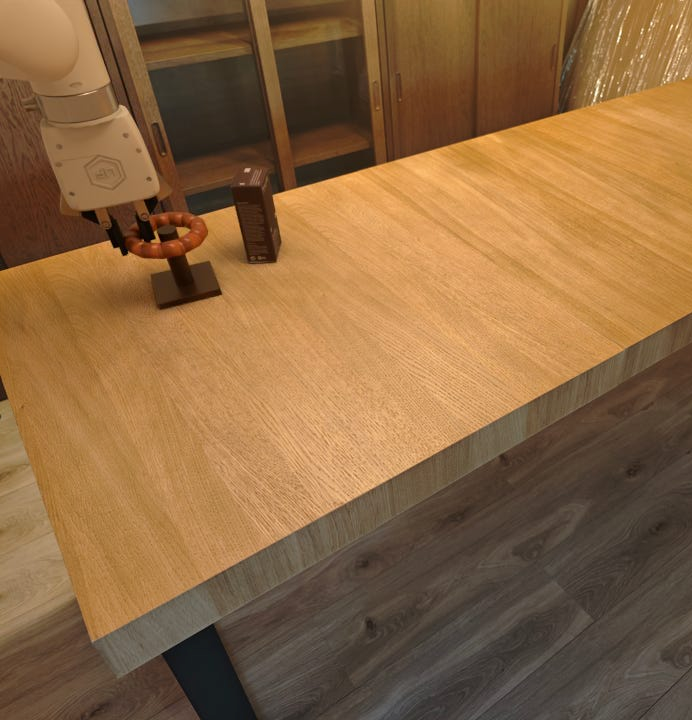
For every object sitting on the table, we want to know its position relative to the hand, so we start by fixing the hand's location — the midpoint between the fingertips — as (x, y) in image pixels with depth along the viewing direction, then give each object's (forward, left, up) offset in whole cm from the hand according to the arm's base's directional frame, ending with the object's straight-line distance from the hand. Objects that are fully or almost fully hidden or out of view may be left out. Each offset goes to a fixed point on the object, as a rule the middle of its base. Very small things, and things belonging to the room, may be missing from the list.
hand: (136, 247), depth 83 cm
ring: (+4, 0, +1) cm, 4 cm away
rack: (+4, 0, -8) cm, 9 cm away
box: (+16, +4, -8) cm, 18 cm away
